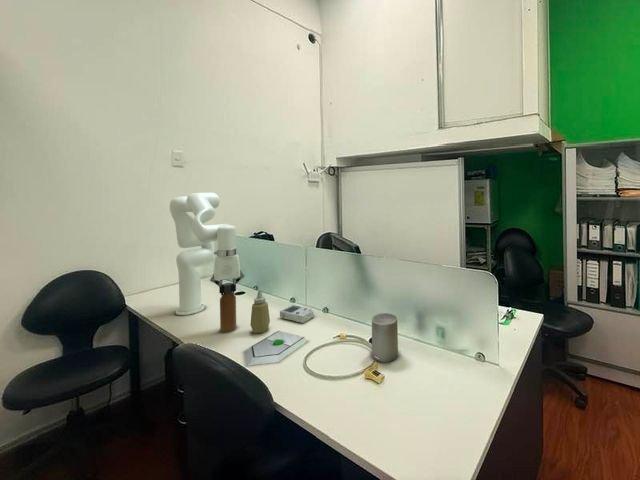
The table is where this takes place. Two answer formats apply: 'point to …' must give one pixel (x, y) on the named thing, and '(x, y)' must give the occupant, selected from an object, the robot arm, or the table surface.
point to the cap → (227, 287)
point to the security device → (273, 348)
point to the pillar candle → (384, 337)
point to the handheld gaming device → (297, 313)
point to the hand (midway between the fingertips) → (227, 293)
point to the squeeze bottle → (260, 314)
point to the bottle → (227, 312)
